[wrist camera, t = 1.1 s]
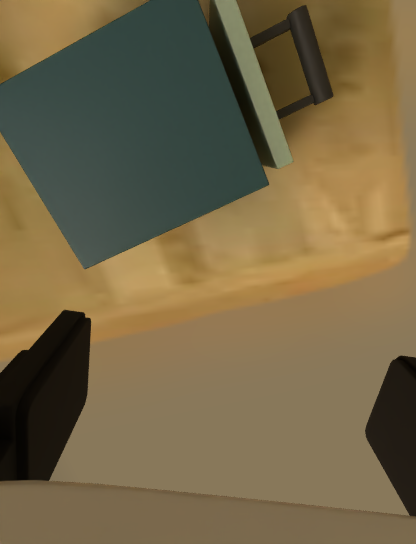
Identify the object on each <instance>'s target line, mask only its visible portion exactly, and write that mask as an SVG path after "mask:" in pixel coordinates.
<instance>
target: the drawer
mask: <svg viewBox="0 0 416 544" xmlns="http://www.w3.org/2000/svg"><path fill="white" fill-rule="evenodd" d="M209 30H210V32H211V35H212V37H213V40H214V43H215V45H216V48H217V50H218V53H219V55H220V58H221V61H222V63H223V66H224V68H225V71H226V74H227V76H228V79H229V81H230V84H231V87H232V89H233V92H234V94H235V97H236V99H237V102H238V105H239V107H240V110H241V112H242V115H243V118H244V120H245V123H246V125H247V128H248V130H249V133H250V136H251V138H252V141H253V143H254V146H255V149H256V151H257V154H258V156H259V159H260V162H261V164H262V165H264V166H268V167H272V168H276V169H279V168H281V167H284V166H286V165H288V164H290V163H292V162H293V158H292V156H291V153H290V150H289V147H288V144H287V142H286V139H285V136H284V133H283V130H282V127H281V125H280V122H279V119H281V118H283V117H285V116H288V115H290V114H292V113H294V112H296V111H298V110H300V109H302V108H304V107H306V106H308V105H310V104H312V103H314V105H317V104H319V103H321V102H324V101H326V100H328V99H330V98H332V97H333V92H332V89H331V86H330V82H329V79H328V76H327V72H326V69H325V66H324V62H323V59H322V56H321V52H320V49H319V46H318V42H317V39H316V36H315V32H314V29H313V26H312V22H311V19H310V16H309V12H308V9H307V6H306V5H303V6H301V7H299V8H297V9H295V10H294V11H292V12H291V13H289V14H288V15H287V17H286V20H284V21H282V22H280V23H278V24H276V25H274V26H272V27H270V28H268V29H267V30H265V31H263V32H261V33H259V34H257V35H255V36H253V37H251V38H249V35H248V32H247V29H246V26H245V24H244V21H243V18H242V15H241V12H240V9H239V7H238V4H237V1H236V0H210V4H209ZM289 30H290V31H291V34H292V37H293V40H294V44H295V47H296V50H297V53H298V56H299V59H300V62H301V65H302V69H303V72H304V75H305V78H306V81H307V84H308V87H309V90H310V94H311V95H309V96H307V97H305V98H303V99H301V100H299V101H297V102H294V103H292V104H290V105H288V106H286V107H284V108H282V109H280V110H278V111H275V108H274V105H273V102H272V99H271V97H270V94H269V91H268V88H267V85H266V83H265V80H264V77H263V74H262V71H261V68H260V66H259V63H258V60H257V57H256V54H255V52H254V48H256V47H258V46H260V45H262V44H264V43H266V42H268V41H270V40H271V39H273V38H275V37H277V36H279V35H281V34H283V33H285V32H287V31H289Z"/></svg>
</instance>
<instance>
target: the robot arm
mask: <svg viewBox="0 0 416 544" xmlns="http://www.w3.org/2000/svg"><path fill="white" fill-rule="evenodd" d="M90 333H91V319H90V318H85V314H84V313H83V312H76V311H69V310H64V311H62V313H61V314H60V315H59V316H58V317H57V318H56V319H55V320H54V322H53V323H52V324H51V325H50V326H49V327H48V328H47V330H46V331H45V332H44V333H43V334H42V335H41V336H40V338H39V339H38V340H37V341H36V342H35V343H34V344H33V346H32V347H31V348H30V349H29V350H22V351H21V352H20V353H18V354H17V355H16V357H15V358H14V359H13V360H12V361H11V362H10V363H9V364H8V365H7V367H6V368H5V369H4V370H3V371H2V372H1V373H0V544H416V358H415V357H408V356H399V357H398V358H396V359H395V360H393V361H392V362H391V363H390V366H389V368H388V371H387V374H386V376H385V379H384V381H383V384H382V386H381V389H380V391H379V394H378V397H377V399H376V402H375V404H374V407H373V410H372V412H371V415H370V417H369V420H368V423H367V425H366V430H365V432H366V438H367V440H368V442H369V444H370V446H371V447H372V449H373V451H374V453H375V454H376V456H377V458H378V460H379V461H380V463H381V465H382V467H383V469H384V470H385V472H386V474H387V476H388V478H389V479H390V481H391V483H392V485H393V486H394V488H395V490H396V492H397V494H398V495H399V497H400V499H401V501H402V502H403V504H404V506H405V508H406V510H407V511H408V513H409V515H410V516H406V515H397V514H388V513H379V512H370V511H361V510H352V509H342V508H332V507H323V506H314V505H305V504H295V503H286V502H275V501H266V500H257V499H246V498H236V497H227V496H217V495H206V494H196V493H187V492H176V491H167V490H157V489H146V488H137V487H125V486H116V485H105V484H93V483H76V482H60V481H49V479H50V477H51V475H52V473H53V471H54V469H55V467H56V465H57V462H58V460H59V458H60V456H61V454H62V452H63V450H64V448H65V445H66V443H67V441H68V439H69V437H70V435H71V433H72V430H73V428H74V426H75V424H76V422H77V420H78V418H79V416H80V414H81V411H82V409H83V407H84V405H85V402H86V397H87V390H88V369H89V352H90Z"/></svg>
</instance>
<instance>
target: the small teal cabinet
mask: <svg viewBox="0 0 416 544" xmlns="http://www.w3.org/2000/svg"><path fill="white" fill-rule="evenodd" d="M0 132H1V134H2V136H3V137H4V139H5V141H6V142H7V144H8V145H9V147H10V149H11V150H12V152H13V154H14V155H15V157H16V159H17V160H18V162H19V163H20V165H21V167H22V168H23V170H24V172H25V173H26V175H27V177H28V178H29V180H30V181H31V183H32V185H33V186H34V188H35V190H36V191H37V193H38V194H39V196H40V198H41V199H42V201H43V203H44V204H45V206H46V208H47V209H48V211H49V212H50V214H51V216H52V217H53V219H54V221H55V222H56V224H57V226H58V227H59V229H60V230H61V232H62V234H63V235H64V237H65V239H66V240H67V242H68V244H69V245H70V247H71V248H72V250H73V252H74V253H75V255H76V257H77V258H78V260H79V261H80V263H81V265H82V266H83V268H84V269H87V268H89V267H91V266H93V265H96V264H98V263H100V262H102V261H104V260H106V259H109V258H111V257H113V256H115V255H117V254H120V253H122V252H124V251H126V250H128V249H130V248H133V247H135V246H137V245H139V244H141V243H144V242H146V241H148V240H150V239H152V238H154V237H157V236H159V235H161V234H163V233H165V232H168V231H170V230H172V229H174V228H176V227H178V226H181V225H183V224H185V223H187V222H189V221H191V220H194V219H196V218H198V217H200V216H202V215H205V214H207V213H209V212H211V211H213V210H215V209H218V208H220V207H222V206H224V205H226V204H229V203H231V202H233V201H235V200H237V199H239V198H242V197H244V196H246V195H248V194H250V193H253V192H255V191H257V190H259V189H261V188H263V187H266V186H268V185H269V182H268V180H267V177H266V174H265V172H264V169H263V167H262V164H261V162H260V159H259V156H258V154H257V151H256V149H255V146H254V143H253V141H252V138H251V136H250V133H249V130H248V128H247V125H246V123H245V120H244V118H243V115H242V112H241V110H240V107H239V105H238V102H237V99H236V97H235V94H234V92H233V89H232V87H231V84H230V81H229V79H228V76H227V74H226V71H225V68H224V66H223V63H222V61H221V58H220V55H219V53H218V50H217V48H216V45H215V43H214V40H213V37H212V35H211V32H210V30H209V27H208V24H207V22H206V19H205V17H204V14H203V12H202V9H201V6H200V4H199V1H198V0H150V1H148V2H146V3H145V4H143V5H141V6H139V7H137V8H136V9H134V10H132V11H130V12H128V13H127V14H125V15H123V16H121V17H120V18H118V19H116V20H114V21H112V22H111V23H109V24H107V25H105V26H103V27H102V28H100V29H98V30H96V31H94V32H93V33H91V34H89V35H87V36H86V37H84V38H82V39H80V40H78V41H77V42H75V43H73V44H71V45H69V46H68V47H66V48H64V49H62V50H60V51H59V52H57V53H55V54H53V55H52V56H50V57H48V58H46V59H44V60H43V61H41V62H39V63H37V64H35V65H34V66H32V67H30V68H28V69H26V70H25V71H23V72H21V73H19V74H18V75H16V76H14V77H12V78H10V79H9V80H7V81H5V82H3V83H1V84H0Z"/></svg>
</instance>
